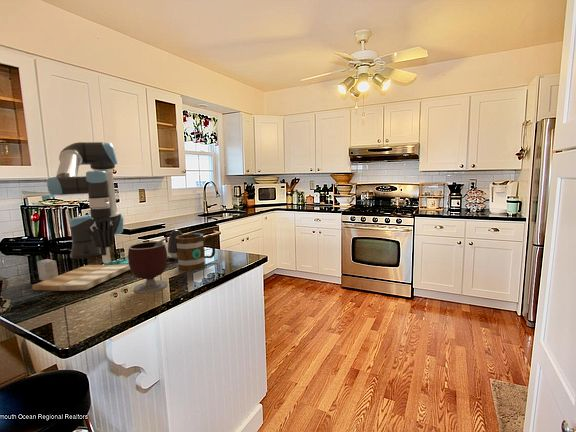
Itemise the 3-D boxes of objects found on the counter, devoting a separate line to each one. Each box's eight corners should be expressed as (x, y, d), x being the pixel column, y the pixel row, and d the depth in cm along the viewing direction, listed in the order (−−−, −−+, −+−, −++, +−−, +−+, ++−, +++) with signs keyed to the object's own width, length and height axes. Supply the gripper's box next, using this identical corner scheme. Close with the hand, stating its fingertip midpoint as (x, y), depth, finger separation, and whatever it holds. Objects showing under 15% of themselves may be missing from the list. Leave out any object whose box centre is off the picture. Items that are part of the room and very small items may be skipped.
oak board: (87, 268, 152) (87, 264, 152) (109, 269, 151) (108, 265, 150) (32, 290, 125) (32, 285, 125) (58, 290, 123) (58, 285, 123)
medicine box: (59, 279, 138) (56, 260, 136) (47, 282, 134) (44, 263, 133) (50, 277, 142) (48, 258, 140) (39, 280, 138) (36, 261, 137)
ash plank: (110, 269, 150) (109, 265, 150) (132, 268, 149) (131, 264, 148) (59, 290, 123) (58, 285, 123) (86, 289, 121) (85, 284, 121)
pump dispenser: (164, 257, 168) (162, 230, 166) (182, 253, 176) (180, 227, 173) (172, 261, 161) (170, 232, 159) (191, 256, 168) (189, 229, 166)
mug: (183, 272, 140) (181, 240, 138) (172, 266, 151) (170, 236, 149) (222, 263, 153) (220, 233, 151) (210, 258, 163) (208, 230, 161)
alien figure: (104, 267, 156) (139, 268, 152) (103, 262, 156) (138, 263, 152) (131, 256, 175) (163, 257, 171) (131, 252, 175) (163, 253, 171)
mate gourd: (123, 293, 117) (117, 241, 115) (145, 281, 131) (140, 234, 128) (161, 294, 115) (156, 241, 113) (179, 281, 129) (175, 234, 126)
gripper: (96, 209, 124) (103, 266, 127) (119, 206, 137) (124, 257, 140) (80, 209, 125) (87, 266, 128) (103, 206, 138) (109, 257, 141)
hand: (106, 261), depth 134 cm, fingers closed
